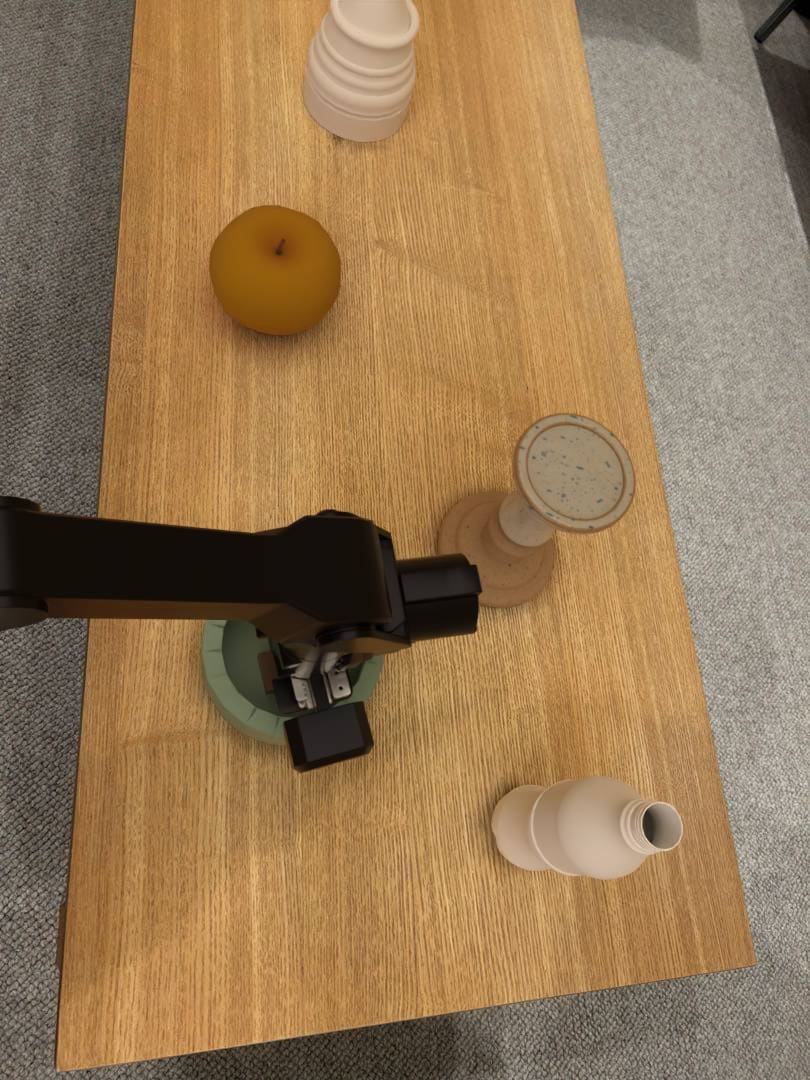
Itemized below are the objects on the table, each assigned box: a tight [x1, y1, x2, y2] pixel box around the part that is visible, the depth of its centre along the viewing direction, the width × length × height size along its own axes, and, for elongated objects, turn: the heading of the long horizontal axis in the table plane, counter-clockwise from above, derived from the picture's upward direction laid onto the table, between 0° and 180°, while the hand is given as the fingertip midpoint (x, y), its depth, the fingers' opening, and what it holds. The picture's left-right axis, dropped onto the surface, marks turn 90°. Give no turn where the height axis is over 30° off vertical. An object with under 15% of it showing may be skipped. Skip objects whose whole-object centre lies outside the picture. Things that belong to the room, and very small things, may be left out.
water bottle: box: [490, 774, 684, 881], centre depth 63 cm, size 7×7×25 cm
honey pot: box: [301, 0, 421, 143], centre depth 90 cm, size 13×13×18 cm
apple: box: [208, 204, 342, 336], centre depth 81 cm, size 13×13×11 cm
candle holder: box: [437, 412, 637, 609], centre depth 73 cm, size 12×12×20 cm
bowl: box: [200, 620, 385, 746], centre depth 71 cm, size 15×15×7 cm
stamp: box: [257, 651, 277, 695], centre depth 70 cm, size 6×4×7 cm, turn 106°
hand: (294, 663), depth 71 cm, fingers closed on stamp, 2 cm apart
